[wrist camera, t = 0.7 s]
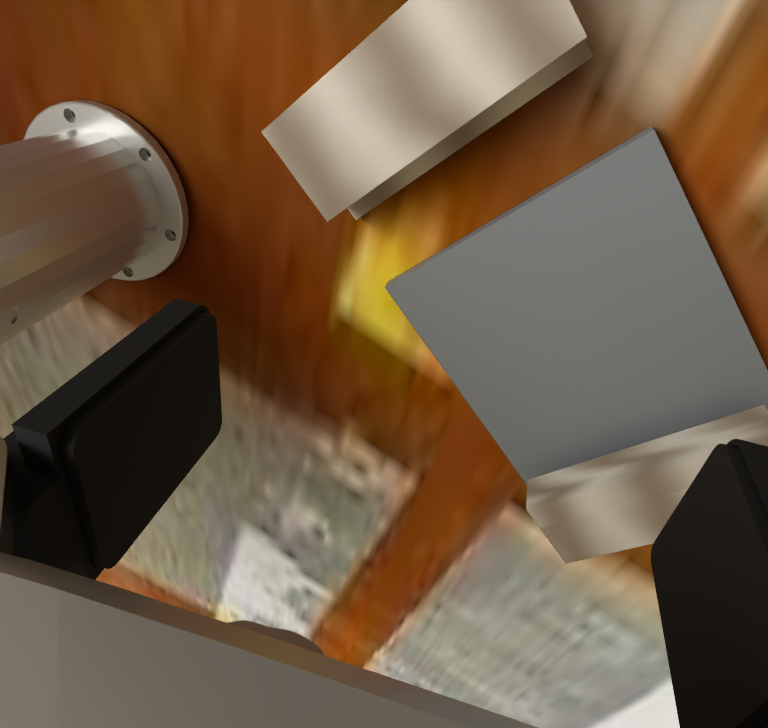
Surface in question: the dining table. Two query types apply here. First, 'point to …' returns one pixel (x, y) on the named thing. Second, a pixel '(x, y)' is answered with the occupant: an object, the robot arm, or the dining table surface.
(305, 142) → the ash plank
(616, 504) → the fixed plank
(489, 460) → the dining table surface
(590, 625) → the dining table surface
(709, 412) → the floor panel
